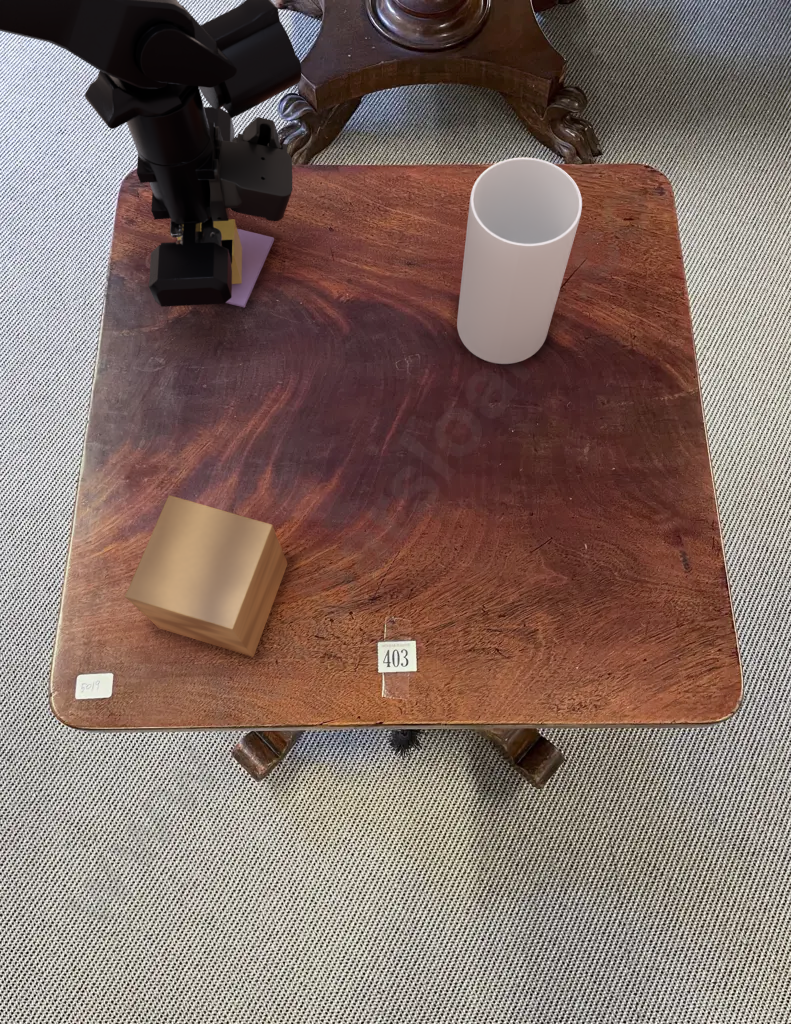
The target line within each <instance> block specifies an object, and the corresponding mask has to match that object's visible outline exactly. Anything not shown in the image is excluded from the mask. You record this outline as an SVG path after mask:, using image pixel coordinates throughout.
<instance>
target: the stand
mask: <svg viewBox="0 0 791 1024" xmlns="http://www.w3.org/2000/svg"><path fill="white" fill-rule="evenodd" d="M287 567H288V560H287V558H286V556H285V553H284V551H283V548H282V546H281V543H280V541H279V538H278V536H277V533H276V530H275V527H274V525H273V524H272V523H268V522H264V521H261V520H257V519H254V518H250V517H247V516H245V515H240V514H236V513H234V512H230V511H226V510H223V509H220V508H216V507H213V506H209V505H205V504H202V503H199V502H195V501H191V500H188V499H185V498H182V497H178V496H174V495H171V494H168V496H167V498H166V499H165V503H164V505H163V506H162V509H161V512H160V514H159V517H158V519H157V521H156V523H155V526H154V528H153V530H152V532H151V535H150V537H149V540H148V542H147V544H146V546H145V549H144V551H143V553H142V556H141V558H140V560H139V562H138V565H137V567H136V569H135V571H134V574H133V577H132V579H131V581H130V583H129V585H128V588H127V590H126V593H125V595H124V598H125V599H126V600H127V601H128V602H130V603H131V605H133V606H134V607H135V608H136V609H137V610H138V611H139V612H141V614H143V615H144V616H145V617H146V618H147V619H148V620H149V621H150V622H152V623H153V624H154V625H155V626H156V627H157V628H158V629H160V630H163V631H167V632H170V633H173V634H177V635H180V636H184V637H186V638H190V639H193V640H196V641H200V642H203V643H205V644H209V645H213V646H216V647H219V648H222V649H225V650H229V651H233V652H236V653H239V654H243V655H245V656H248V657H251V658H254V657H255V654H256V652H257V648H258V647H259V643H260V640H261V638H262V636H263V632H264V630H265V627H266V624H267V622H268V619H269V616H270V613H271V611H272V608H273V605H274V602H275V600H276V597H277V594H278V591H279V588H280V587H281V584H282V581H283V578H284V575H285V573H286V570H287Z"/></svg>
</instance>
